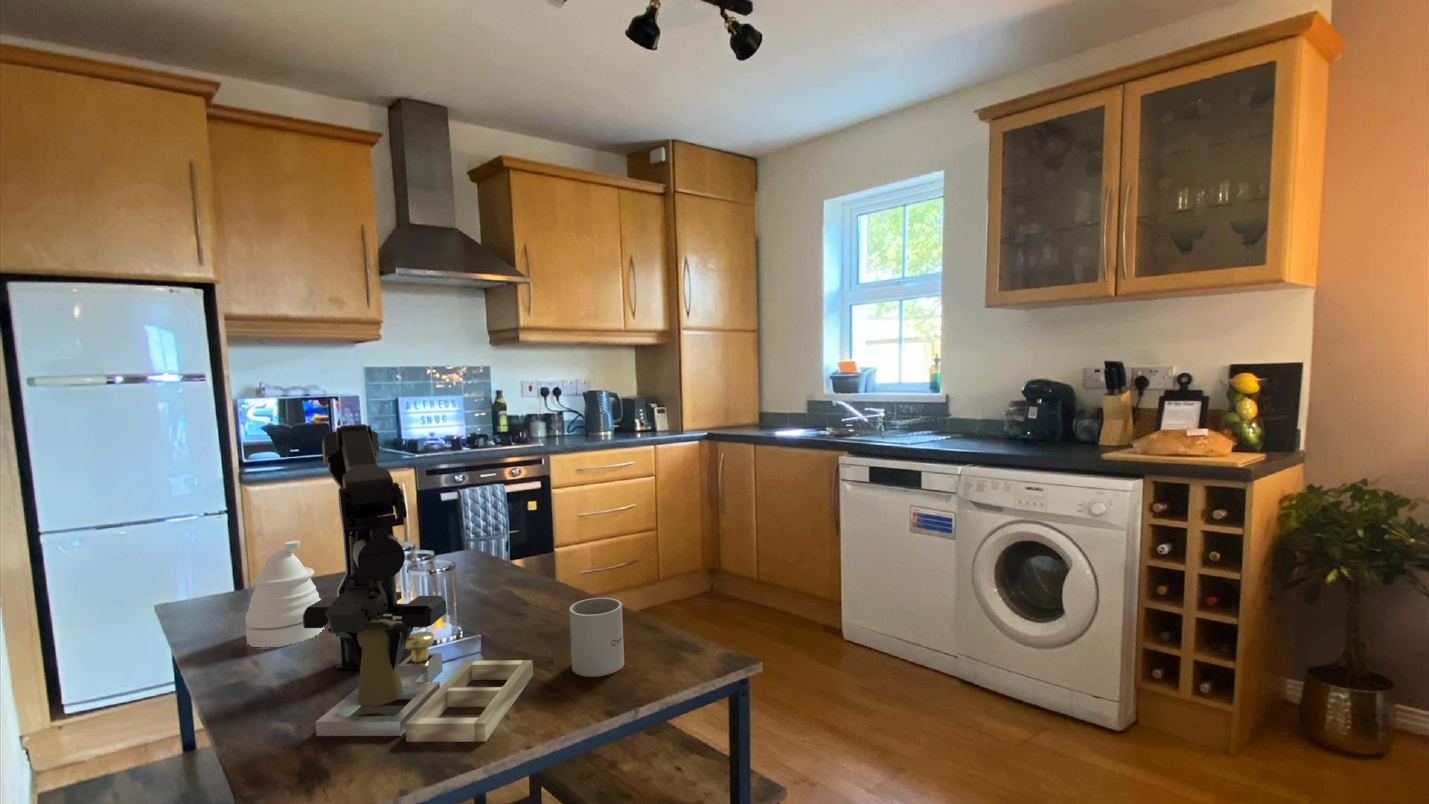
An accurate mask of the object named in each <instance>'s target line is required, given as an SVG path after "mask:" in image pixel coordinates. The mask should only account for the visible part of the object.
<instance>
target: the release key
mask: <svg viewBox="0 0 1429 804" xmlns="http://www.w3.org/2000/svg"><path fill="white" fill-rule="evenodd" d="M433 644H434V633H433V632H430V631H417V632H414V633H411V634H410V636H409V638H408V641H407V643H406V646H405V649H406V650H410V655H411V664H425V663H426V662H427V661H428V660H429V658H428V653H429V647H430V646H431V645H433Z"/></svg>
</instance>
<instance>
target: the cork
mask: <svg viewBox="0 0 1429 804" xmlns="http://www.w3.org/2000/svg"><path fill="white" fill-rule="evenodd" d="M391 625H393V621H390V620H386V619H381V620H379V621H370V623H369V625H368V627H367V628H366V629H365V630H364V631H362V632H360V633H357V640H358V643H359V645H360V646H361V647H362V655H361V667H360V669H359V670H360V671H359V681H358V687H359V690H358V703H359V704H360V705H362V707H363V706H364V707H377V706H382V705H386V704H389V703H392V702H394V701H395V700H399V699H398V698H399V697H400V696H401V695H402V694H403V687H402V682H401V678H400V673H399V668H398V667H397V669H395V670H393V668H392V665H391V662H390V637H389V636H388V634H387V633H386V632H385V630H386V629H387V628H389V627H390V626H391Z"/></svg>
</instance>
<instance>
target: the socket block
mask: <svg viewBox="0 0 1429 804" xmlns="http://www.w3.org/2000/svg"><path fill="white" fill-rule="evenodd" d="M442 655H443V653H442V652H428V658H429V660H428V661H427V662H426V663H425V664H411V654H410V655H409V656H407V657H406V658H405V659H404V660H403V661H402V662H400V663H399V665H398V668H399V673H400V678H401V682H402V687H403V694H402V695H401V696H400V697H399V698H398V699H397V700H410V701H409V702H408V703H407V704H406V705H405V706H403V708H402V709H401V710H399V712H398V713H396V714H395V715H370V716H369V715H367V716H365V715H363V716H362V715H358V716H357V715H353V714H354V713H355V712H357V710H359V709H360V708H361V707H363V705H360V704H359V703H358V690H359V686H358V687H357V688H355V689H354V690H353V691H351V693H349V694H348V695H347V696H345V697H344V698H343V699H341V700H340V701H339V702H338V703H337V704H336V705H334V707H331V709H329V710H328V711H327V712H326V713H325V714H324V715H322V716H320V718H319V719H317V720H315V733H316V736H317V737H374V736H375V737H380V736H381V737H382V736H383V737H389V736H390V737H398V736H399V737H401V736H402V735H403V734H404V733H406V730H405V723H406V722H407V721H408V720H409V719H410V718H411V717H412V716H413V715H414V714H415V713H416V712H417V711H418V710H419V709H420V708H421V707H422V706H423V705H424V704H425V703H426V702H427V701H428V700H429V699H430V698H431V697H432V695H433V694H434V693H435V692H436V691H437V690H438V689H439V688H440V687H441V685H440V684H441V683H440V681H434V680H435V679H436V677H438V676H439V675H440V674H441V673H442V672H443V671H444V670H443V656H442Z"/></svg>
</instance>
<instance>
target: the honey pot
mask: <svg viewBox="0 0 1429 804" xmlns="http://www.w3.org/2000/svg"><path fill="white" fill-rule="evenodd" d="M284 546H285V547H284V548H285V549H279V550H276V551H275V552H274V553H272V554H271V555H270V557H269V558H268V559H267V561H266V562H265V563H264V566H263V568H262V570H261V572H260V574H259V575H257V576H256V577H254V579H253V581H252V583H254V585H255V588H254V589H253V593H252V595H251V597H250V603H249V605H248V610H247V612H246V614H245V618H244V620H245V624H246V626H245V635H246V637H245V638H246V645H248V644H249V645H250V646H252V647H267V648H266V649H269V648H268V647H277V648H282V646H283V647H287V646H286V645H288V646H290V645H289V644H292V645H295V644H294V643H296V644H298V643H297V642H300V641H303V642H305V641H304V640H306V639H309V638H311V639H313V638H315V637H314V636H315V635H317V636H319V635H320V634H319V633H320V632H322V630H323V629H324V630H325V628H324V627H323V628H304V627H303V614H304V612H305V610H306V608H307V607H309V606H310V605H312V604H314V603H316V602H318V601H320V600H321V599H322V598H320V595H319V592H318V591H317V586H316V585H315V584H314V582H313V581H312V577H313V576H314V575H315V570H314V569H313V568H312V567H307V566H306V567H305V566H304V565H303V563H302V562H301V560H300V559H299V558H298V557H297V556H296V555H295V554H294V553H295V552H297V551H298V550H299V548H300V546H301V541H300V540H290V541H286V542H284ZM322 633H323V632H322ZM318 634H319V635H318ZM312 637H313V638H312ZM309 640H310V639H309ZM306 641H307V640H306ZM300 643H301V642H300ZM250 646H249V647H250ZM252 647H251V648H252Z"/></svg>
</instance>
